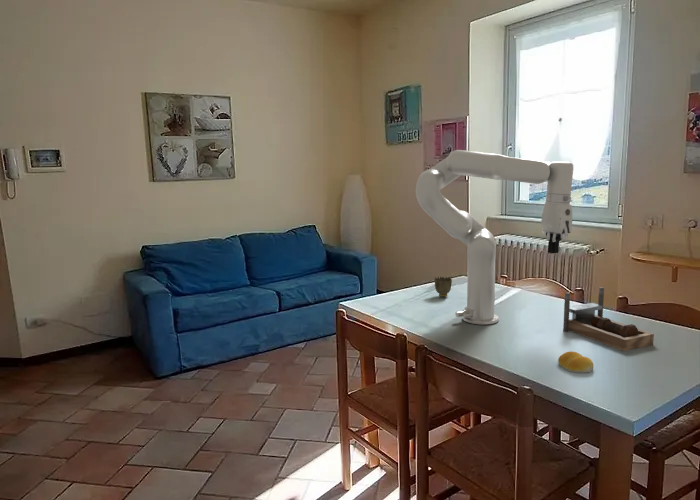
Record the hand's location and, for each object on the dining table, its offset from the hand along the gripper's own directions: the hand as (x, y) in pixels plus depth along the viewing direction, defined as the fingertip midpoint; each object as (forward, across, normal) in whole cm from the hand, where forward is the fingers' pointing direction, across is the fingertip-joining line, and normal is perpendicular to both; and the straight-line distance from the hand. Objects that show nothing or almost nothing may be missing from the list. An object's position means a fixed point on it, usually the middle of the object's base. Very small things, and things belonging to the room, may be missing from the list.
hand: (552, 252), depth 174 cm
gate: (+23, -9, -7) cm, 26 cm away
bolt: (+23, -20, -8) cm, 32 cm away
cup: (+27, +46, +14) cm, 55 cm away
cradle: (+24, -20, -8) cm, 32 cm away
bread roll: (+25, -33, +20) cm, 46 cm away
